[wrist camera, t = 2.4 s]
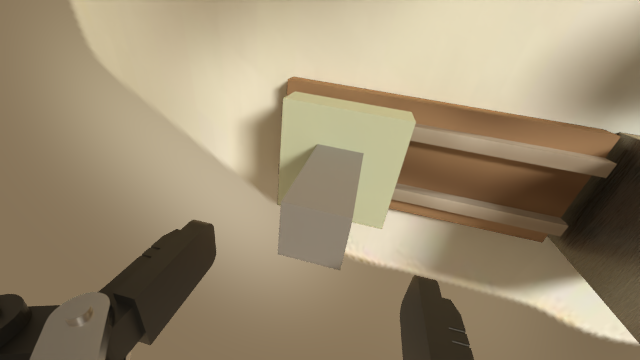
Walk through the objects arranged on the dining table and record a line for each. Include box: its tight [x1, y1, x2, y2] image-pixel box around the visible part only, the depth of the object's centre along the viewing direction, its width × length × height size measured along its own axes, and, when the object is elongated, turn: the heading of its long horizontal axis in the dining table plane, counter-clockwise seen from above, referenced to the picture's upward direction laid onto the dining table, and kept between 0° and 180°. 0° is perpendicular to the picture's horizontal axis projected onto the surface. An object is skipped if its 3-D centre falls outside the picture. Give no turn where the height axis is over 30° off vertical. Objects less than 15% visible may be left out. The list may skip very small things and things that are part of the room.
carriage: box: [277, 91, 416, 270], centre depth 15 cm, size 8×8×10 cm
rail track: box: [278, 77, 621, 242], centre depth 20 cm, size 9×22×2 cm, turn 82°
